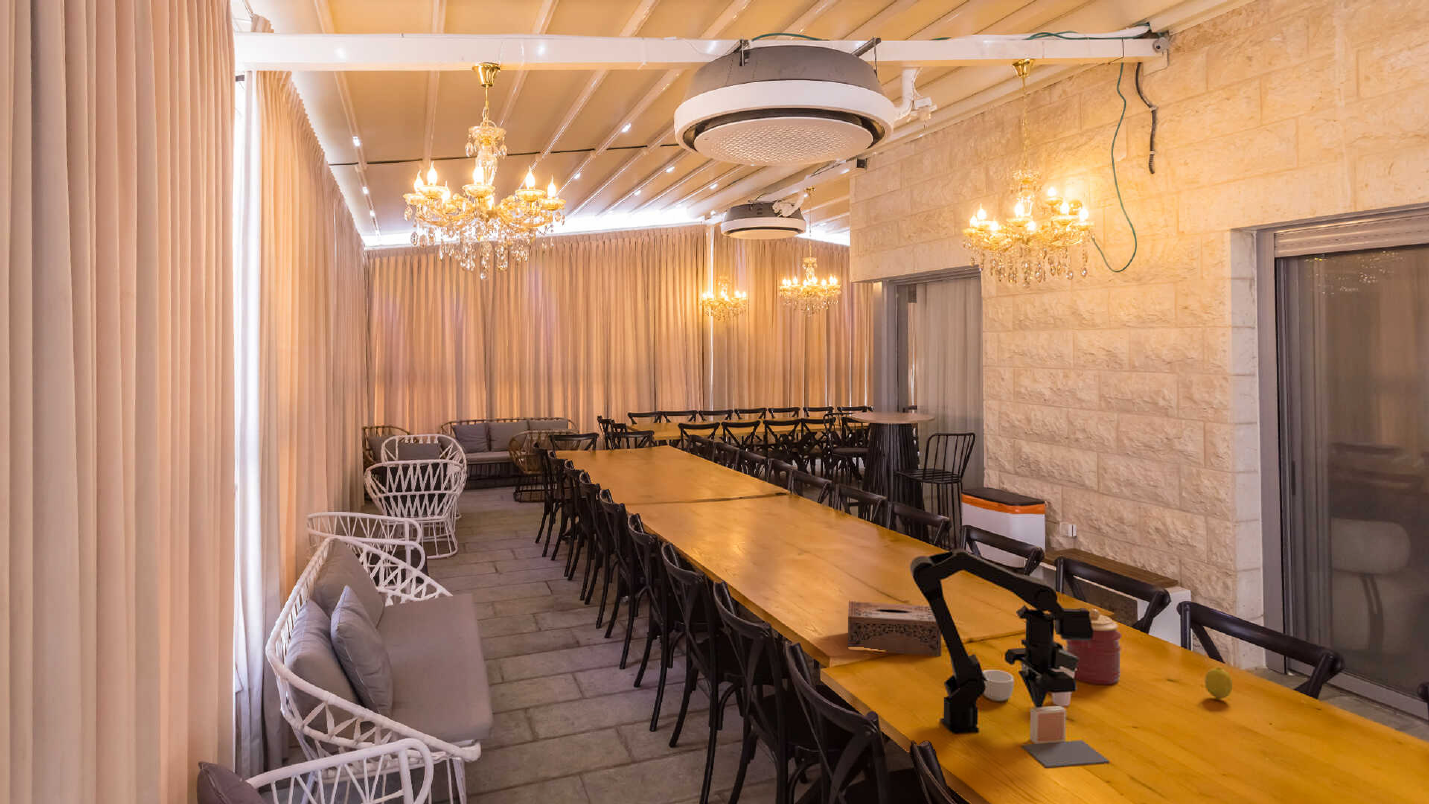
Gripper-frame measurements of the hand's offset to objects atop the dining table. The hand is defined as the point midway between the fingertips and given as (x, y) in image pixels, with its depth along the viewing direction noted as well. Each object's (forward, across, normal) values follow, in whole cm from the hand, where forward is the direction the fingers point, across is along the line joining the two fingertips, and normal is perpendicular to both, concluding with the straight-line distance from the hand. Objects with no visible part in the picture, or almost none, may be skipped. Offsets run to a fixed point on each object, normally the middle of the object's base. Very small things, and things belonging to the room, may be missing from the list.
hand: (1038, 707), depth 171 cm
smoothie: (+6, +13, -14) cm, 20 cm away
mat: (+6, -10, 0) cm, 12 cm away
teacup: (+6, +19, -1) cm, 20 cm away
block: (+6, -4, 0) cm, 7 cm away
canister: (+6, +27, -32) cm, 42 cm away
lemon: (+6, +8, -53) cm, 54 cm away
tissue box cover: (+6, +57, +10) cm, 58 cm away
